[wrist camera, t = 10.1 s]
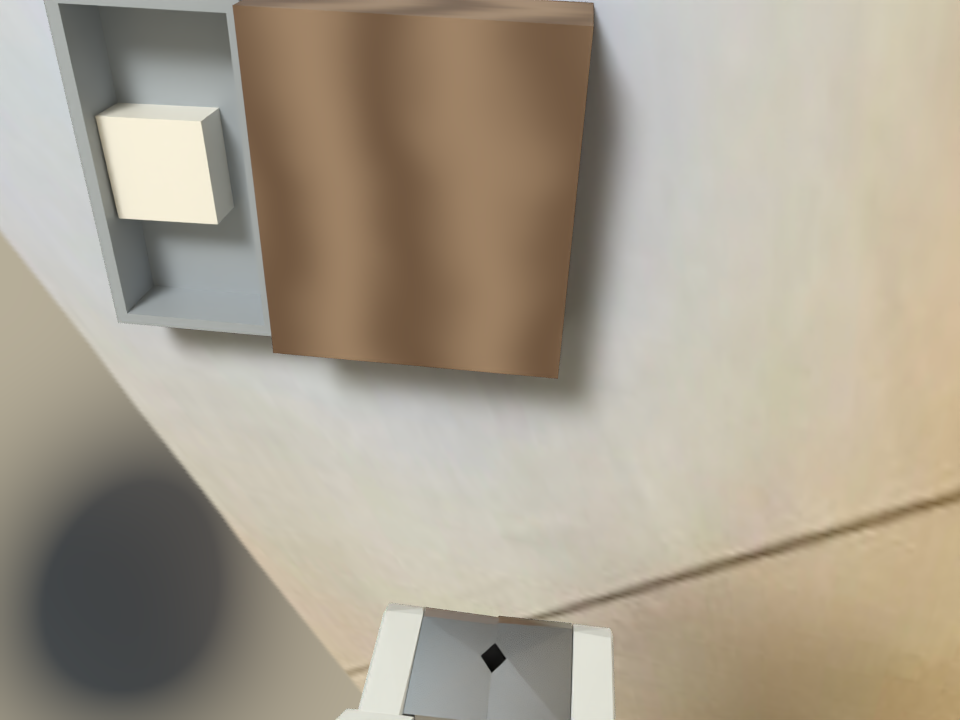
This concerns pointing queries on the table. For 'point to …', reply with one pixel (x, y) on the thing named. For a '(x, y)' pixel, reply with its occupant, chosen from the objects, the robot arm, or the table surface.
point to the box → (181, 82)
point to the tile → (166, 162)
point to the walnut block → (416, 175)
